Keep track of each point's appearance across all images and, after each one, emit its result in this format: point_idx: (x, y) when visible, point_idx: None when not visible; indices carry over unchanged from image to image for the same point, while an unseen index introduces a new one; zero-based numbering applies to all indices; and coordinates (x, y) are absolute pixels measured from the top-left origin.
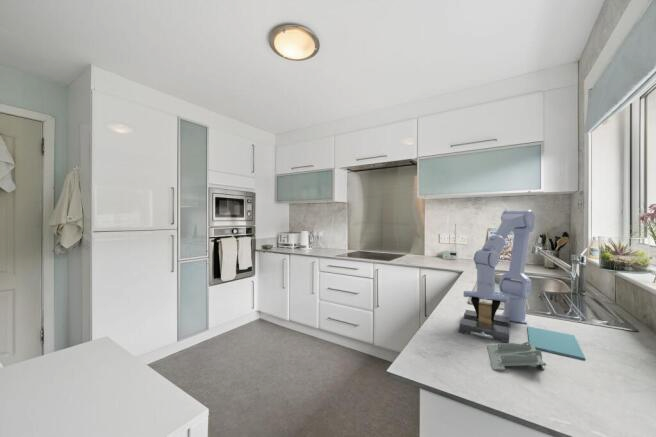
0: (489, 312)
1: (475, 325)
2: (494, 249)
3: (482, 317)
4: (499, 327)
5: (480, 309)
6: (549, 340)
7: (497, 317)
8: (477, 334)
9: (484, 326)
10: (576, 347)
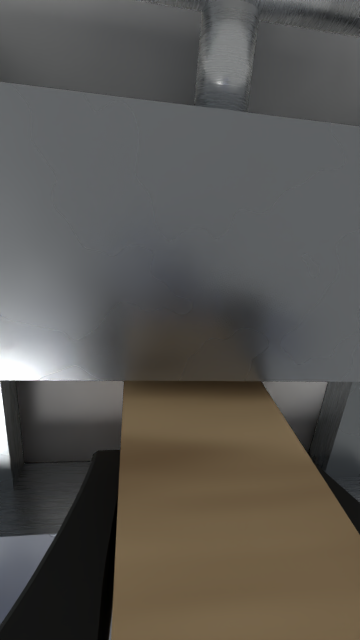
0: (153, 552)
1: (335, 201)
2: None
3: (247, 442)
4: (1, 311)
5: (350, 573)
6: None
7: None
8: None
9: (209, 234)
10: None
